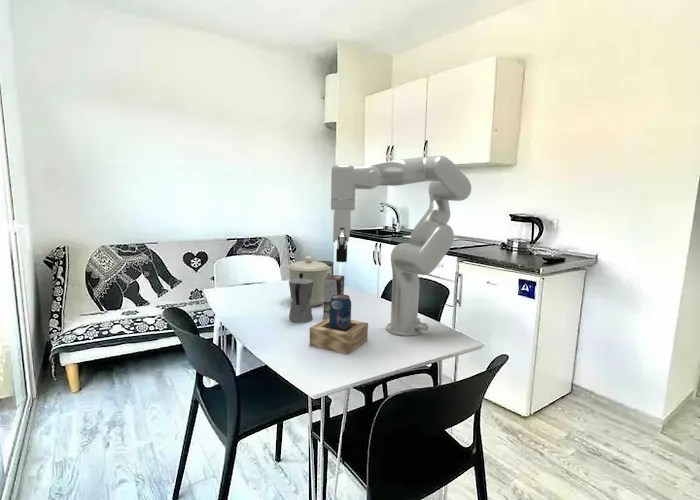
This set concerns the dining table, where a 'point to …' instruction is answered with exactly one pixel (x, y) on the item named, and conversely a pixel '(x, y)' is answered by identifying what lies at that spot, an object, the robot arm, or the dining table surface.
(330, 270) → the coffee can
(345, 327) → the soda can
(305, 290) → the coffeepot
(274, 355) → the dining table surface
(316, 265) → the canister
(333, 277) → the coffee box
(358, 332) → the square wooden tray
